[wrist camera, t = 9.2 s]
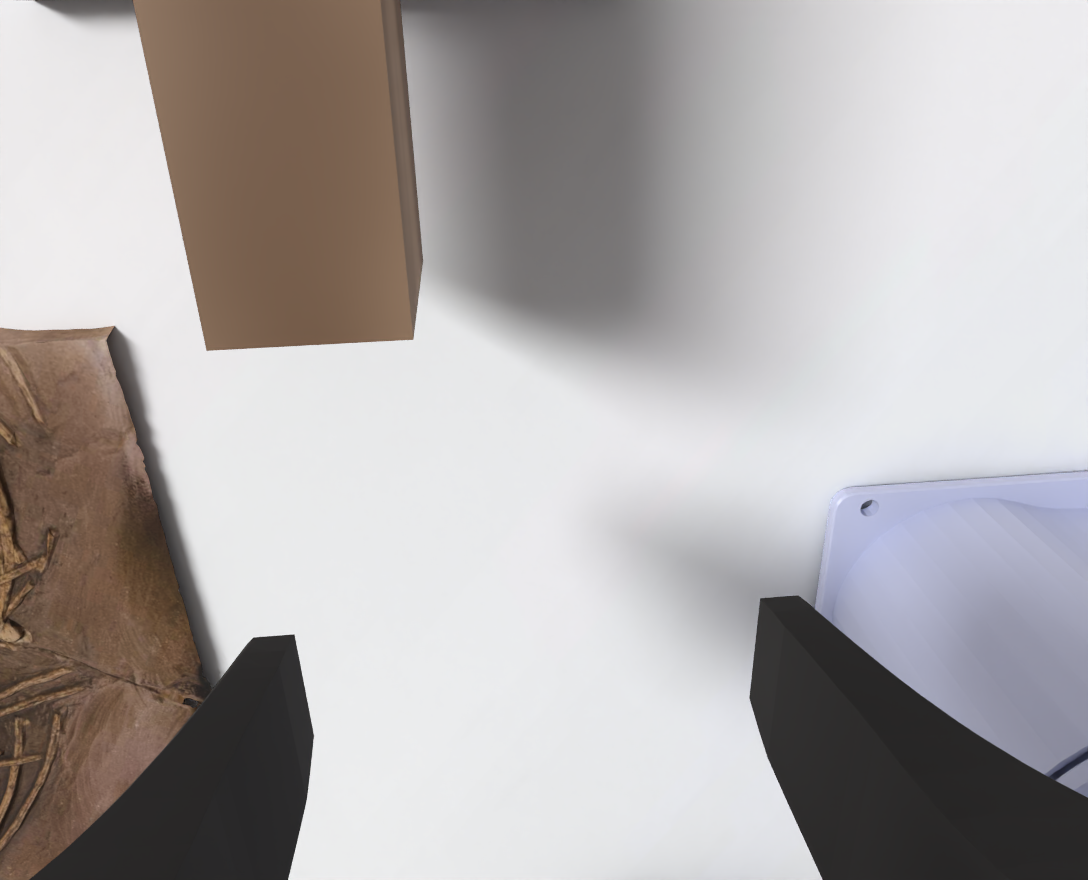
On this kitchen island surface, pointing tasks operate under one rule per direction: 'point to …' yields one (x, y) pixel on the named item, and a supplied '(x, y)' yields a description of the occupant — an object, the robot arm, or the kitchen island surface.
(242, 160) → the walnut beam
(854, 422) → the kitchen island surface
